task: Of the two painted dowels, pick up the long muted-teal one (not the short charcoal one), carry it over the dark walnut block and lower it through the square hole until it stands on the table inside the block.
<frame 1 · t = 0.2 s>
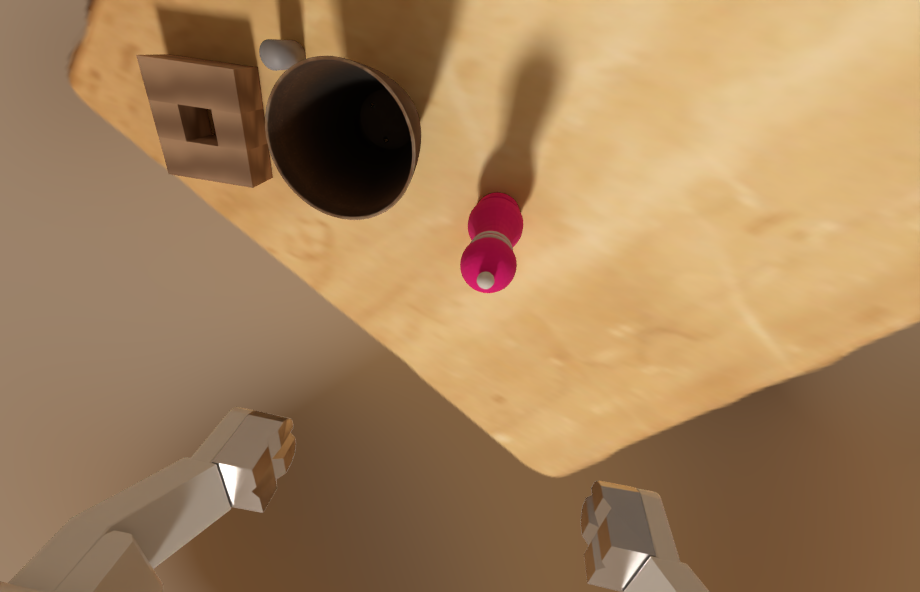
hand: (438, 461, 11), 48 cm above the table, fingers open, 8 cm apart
pepper mill: (497, 213, 57), on the table
plant pot: (388, 120, 52), on the table
charcoal dowel: (293, 54, 49), on the table
walnut block: (223, 119, 55), on the table
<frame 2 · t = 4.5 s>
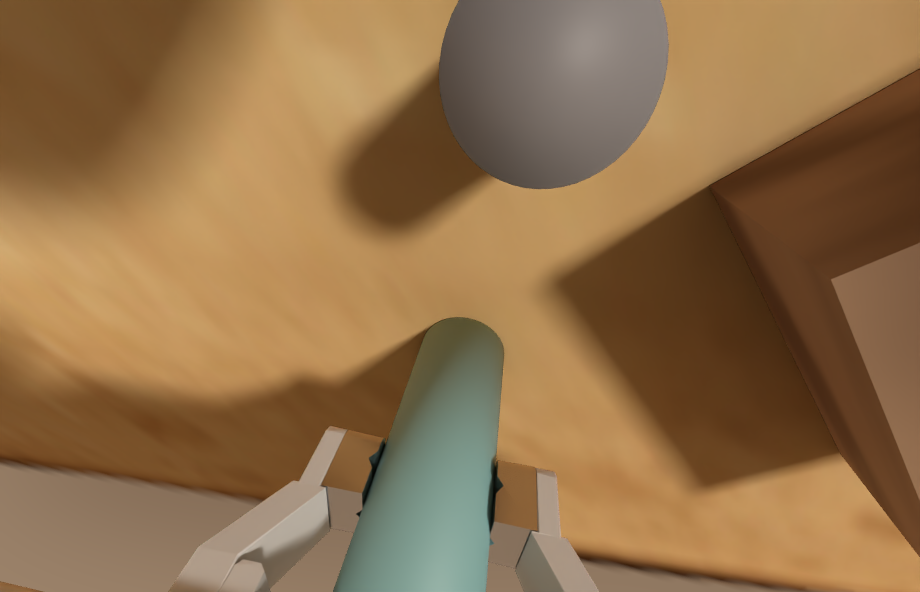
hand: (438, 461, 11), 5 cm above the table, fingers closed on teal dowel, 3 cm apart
teal dowel: (462, 351, 15), on the table, touching gripper
charcoal dowel: (539, 65, 10), on the table
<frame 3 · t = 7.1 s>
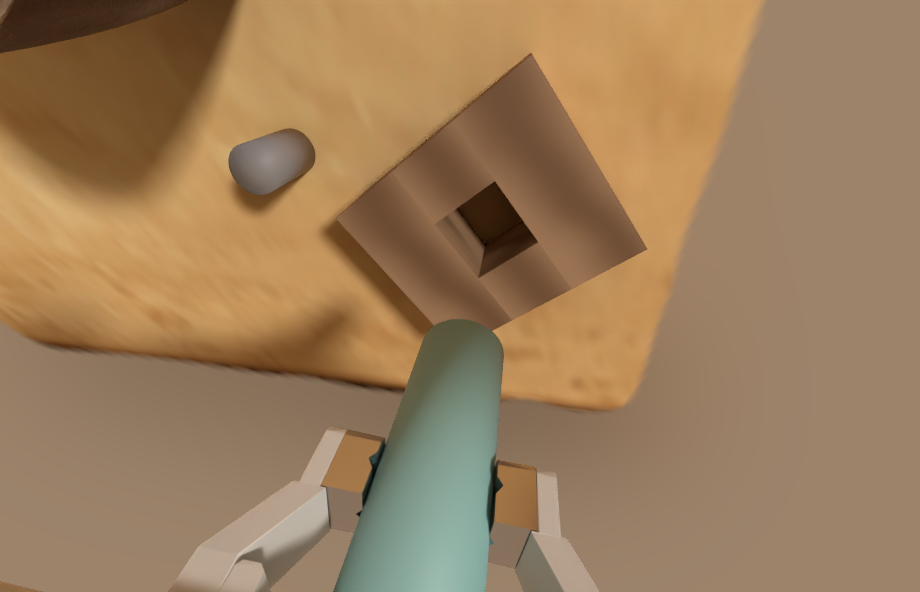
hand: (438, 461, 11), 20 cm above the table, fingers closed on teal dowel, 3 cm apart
teal dowel: (462, 352, 15), point 16 cm above the table, touching gripper
charcoal dowel: (294, 151, 28), on the table
walnut block: (492, 204, 28), on the table
when the fingers open (6 cm above the table, at t = 9.7 s): teal dowel stays where it is, resting in walnut block.
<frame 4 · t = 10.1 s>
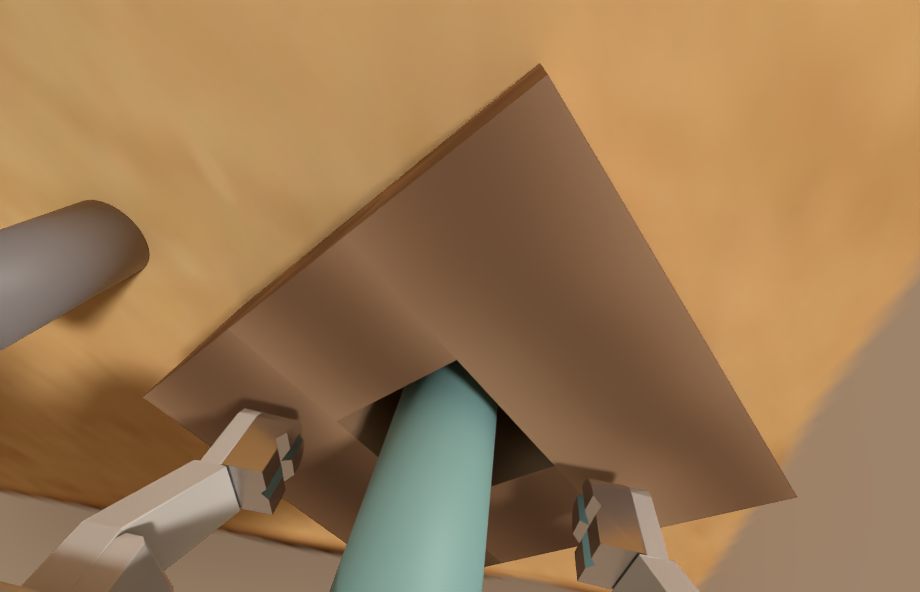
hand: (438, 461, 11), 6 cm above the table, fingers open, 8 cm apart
teal dowel: (464, 335, 15), resting in walnut block
charcoal dowel: (110, 238, 15), on the table
walnut block: (466, 335, 15), on the table
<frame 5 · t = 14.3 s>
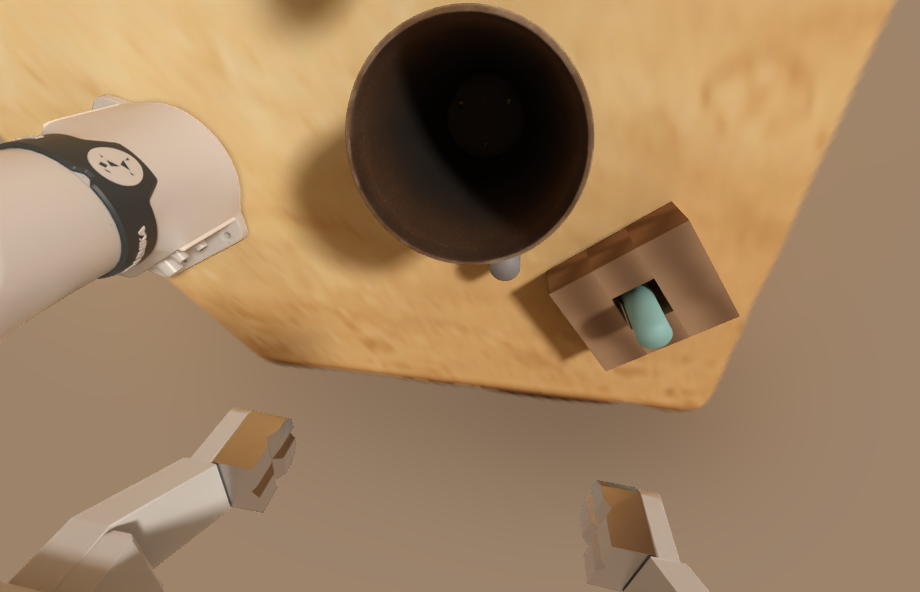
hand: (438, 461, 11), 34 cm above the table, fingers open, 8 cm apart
plant pot: (487, 116, 38), on the table
teal dowel: (630, 280, 44), resting in walnut block
charcoal dowel: (506, 246, 44), on the table
walnut block: (631, 280, 44), on the table
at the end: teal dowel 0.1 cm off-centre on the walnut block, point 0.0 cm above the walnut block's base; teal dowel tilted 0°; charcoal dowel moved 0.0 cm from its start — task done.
